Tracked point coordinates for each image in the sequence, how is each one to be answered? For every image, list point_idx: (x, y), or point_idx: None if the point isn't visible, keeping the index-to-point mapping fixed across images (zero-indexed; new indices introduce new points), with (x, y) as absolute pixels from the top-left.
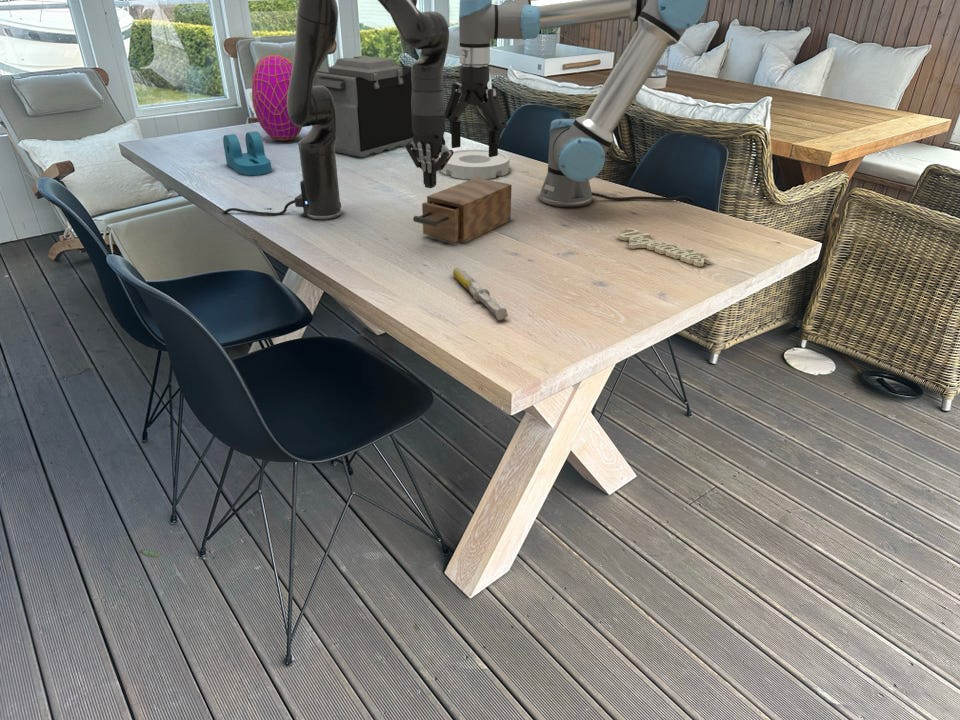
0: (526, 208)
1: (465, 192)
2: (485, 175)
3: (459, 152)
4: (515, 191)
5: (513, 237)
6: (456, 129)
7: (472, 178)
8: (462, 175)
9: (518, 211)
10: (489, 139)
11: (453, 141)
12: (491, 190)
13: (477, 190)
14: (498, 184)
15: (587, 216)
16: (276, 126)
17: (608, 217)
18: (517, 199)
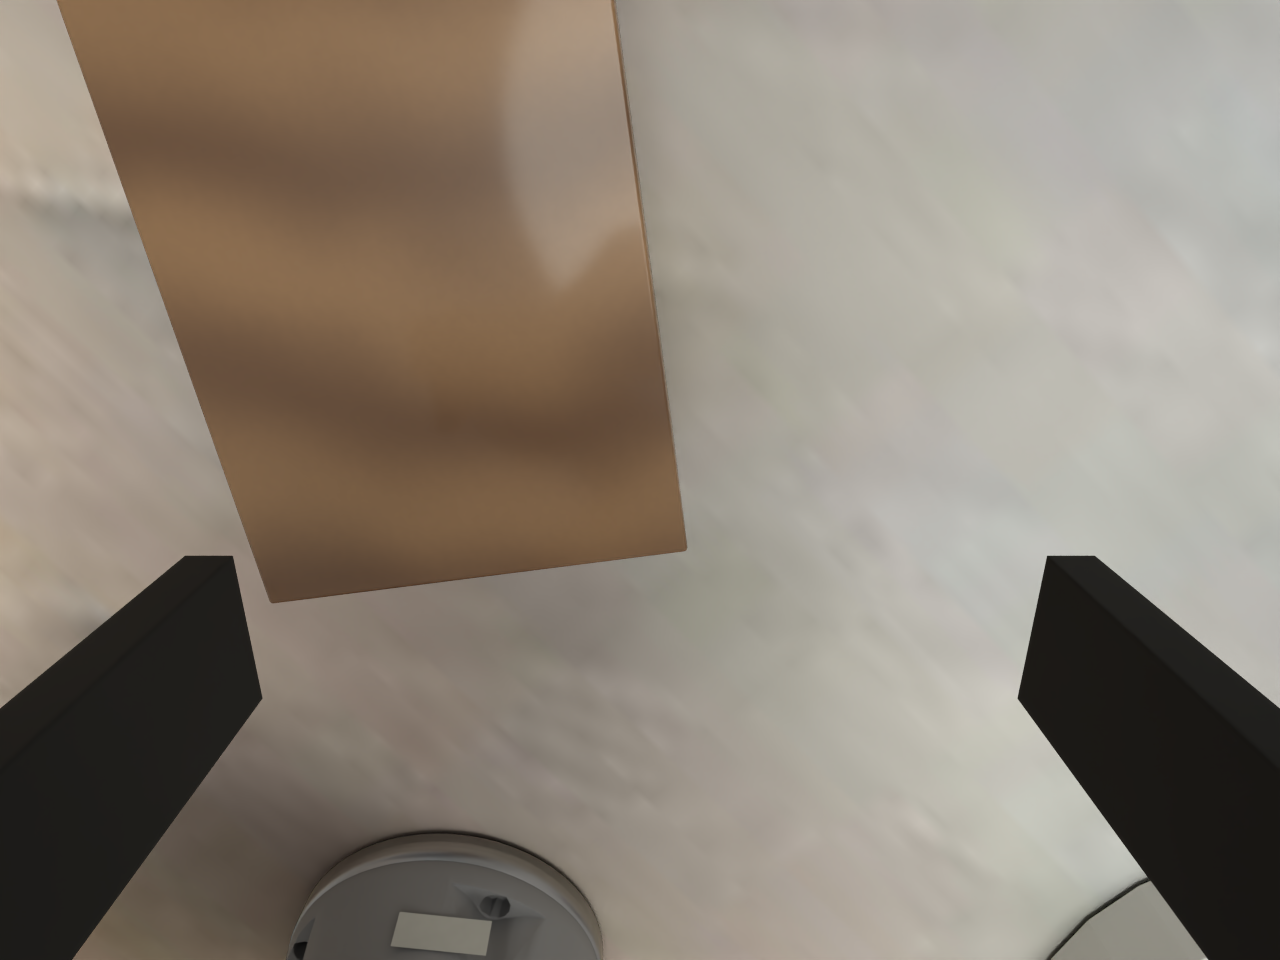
0: (498, 713)
1: (332, 24)
2: (1088, 953)
3: None
4: (776, 886)
5: (96, 231)
6: (1241, 855)
7: (1148, 888)
8: None
9: (489, 642)
10: (7, 742)
11: (1108, 614)
12: (217, 314)
13: (310, 199)
14: (346, 519)
15: None
16: None
17: None
18: (661, 795)
